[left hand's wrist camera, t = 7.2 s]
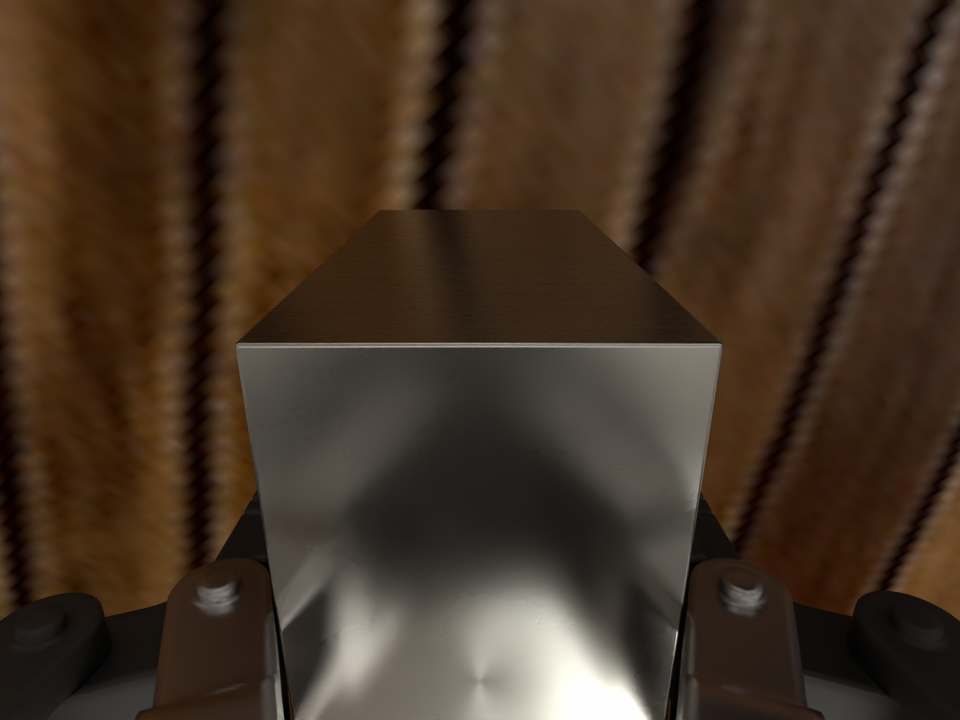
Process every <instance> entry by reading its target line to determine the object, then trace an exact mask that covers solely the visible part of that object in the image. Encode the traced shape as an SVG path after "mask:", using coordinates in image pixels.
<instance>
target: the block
mask: <svg viewBox="0 0 960 720" xmlns="http://www.w3.org/2000/svg"><path fill="white" fill-rule="evenodd" d="M722 347H723V345H722V342H721V341H719V340H718V339H717V338H716V337H715V336H714V335H713V334H712V333H711V332H710V331H709V330H708V329H707V328H705V327H704V326H703V325H702V324H701V323H700V322H699V321H698V320H697V319H696V318H695V317H694V316H693V315H691V314H690V313H689V312H688V311H687V310H686V309H685V308H684V307H683V306H682V305H681V304H680V303H679V302H677V301H676V300H675V299H674V298H673V297H672V296H671V295H670V294H669V293H668V292H667V291H666V290H665V289H664V288H662V287H661V286H660V285H659V284H658V283H657V282H656V281H655V280H654V279H653V278H652V277H651V276H650V275H648V274H647V273H646V272H645V271H644V270H643V269H642V268H641V267H640V266H639V265H638V264H637V263H636V262H634V261H633V260H632V259H631V258H630V257H629V256H628V255H627V254H626V253H625V252H624V251H623V250H622V249H620V248H619V247H618V246H617V245H616V244H615V243H614V242H613V241H612V240H611V239H610V238H609V237H608V236H607V235H605V234H604V233H603V232H602V231H601V230H600V229H599V228H598V227H597V226H596V225H595V224H594V223H593V222H591V221H590V220H589V219H588V218H587V217H586V216H585V215H584V214H583V213H582V212H581V211H580V210H380V211H378V212H377V213H376V214H375V215H374V216H373V217H372V218H371V219H370V220H369V221H367V222H366V223H365V224H364V225H363V226H362V227H361V228H360V229H359V230H358V231H357V232H356V233H355V234H353V235H352V236H351V237H350V238H349V239H348V240H347V241H346V242H345V243H344V244H343V245H342V246H340V247H339V248H338V249H337V250H336V251H335V252H334V253H333V254H332V255H331V256H330V257H329V258H327V259H326V260H325V261H324V262H323V263H322V264H321V265H320V266H319V267H318V268H317V269H316V270H315V271H313V272H312V273H311V274H310V275H309V276H308V277H307V278H306V279H305V280H304V281H303V282H302V283H300V284H299V285H298V286H297V287H296V288H295V289H294V290H293V291H292V292H291V293H290V294H289V295H288V296H286V297H285V298H284V299H283V300H282V301H281V302H280V303H279V304H278V305H277V306H276V307H275V308H273V309H272V310H271V311H270V312H269V313H268V314H267V315H266V316H265V317H264V318H263V319H262V320H260V321H259V322H258V323H257V324H256V325H255V326H254V327H253V328H252V329H251V330H250V331H249V332H248V333H246V334H245V335H244V336H243V337H242V338H241V339H240V340H239V341H238V342H237V343H236V345H235V349H236V355H237V362H238V368H239V374H240V381H241V387H242V394H243V400H244V407H245V413H246V419H247V426H248V432H249V439H250V445H251V452H252V458H253V464H254V471H255V477H256V484H257V490H258V497H259V503H260V509H261V516H262V522H263V529H264V535H265V542H266V548H267V554H268V561H269V567H270V574H271V580H272V587H273V593H274V600H275V606H276V612H277V619H278V625H279V632H280V638H281V645H282V651H283V657H284V664H285V670H286V677H287V683H288V690H289V696H290V702H291V709H292V715H293V720H666V715H667V708H668V701H669V695H670V688H671V682H672V675H673V669H674V662H675V656H676V649H677V642H678V636H679V629H680V623H681V616H682V610H683V603H684V596H685V590H686V583H687V577H688V570H689V564H690V557H691V551H692V544H693V537H694V531H695V524H696V518H697V511H698V505H699V498H700V491H701V485H702V478H703V472H704V465H705V459H706V452H707V446H708V439H709V432H710V426H711V419H712V413H713V406H714V400H715V393H716V386H717V380H718V373H719V367H720V360H721V354H722Z"/></svg>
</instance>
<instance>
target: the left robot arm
mask: <svg viewBox="0 0 960 720" xmlns="http://www.w3.org/2000/svg"><path fill="white" fill-rule="evenodd" d="M244 512H245V513H244V515H242V516H241V518H240V520H239V521H238V523H237V525H236V526H235V528H234V530H233V531H232V533H231V535H230V536H229V538H228V540H227V541H226V543H225V545H224V546H223V548H222V550H221V551H220V553H219V555H218V556H217V558H216V560H215V561H214V562H211V563H208V564H206V565H203V566H201V567H199V568H197V569H195V570H194V571H192V572H190V573H189V574H187V575H186V576H185V577H183V578H182V579H181V580H180V581H179V582H178V583H177V584H176V585H175V587H174V588H173V589H172V591H171V593H170V594H169V597H168V600H167V602H164V603H161V604H158V605H155V606H151V607H148V608H144V609H139V610H135V611H130V612H126V613H122V614H117V615H113V616H109V617H105V615H104V612H103V608H102V605H101V603H100V602H99V601H98V599H97V598H95V597H93V596H91V595H88V594H84V593H64V594H58V595H54V596H49V597H46V598H43V599H40V600H37V601H35V602H32V603H30V604H28V605H26V606H24V607H22V608H20V609H18V610H16V611H15V612H13V613H11V614H10V615H8V616H7V617H5V618H4V619H3V620H1V621H0V720H292V716H291V709H290V702H289V696H288V692H289V690H288V683H287V677H286V670H285V664H284V657H283V651H282V645H281V638H280V632H279V625H278V619H277V612H276V606H275V600H274V593H273V587H272V580H271V574H270V567H269V561H268V554H267V548H266V542H265V535H264V529H263V522H262V516H261V509H260V503H259V497H258V490H257V491H256V493H255V494H254V496H253V500H251V501H250V503H249V504H248V506H247V508H246V510H245V511H244ZM669 698H670V701H671V702H670V709H669V716H668V720H960V621H959V620H958V619H956V618H955V617H953V616H952V615H951V614H949V613H948V612H946V611H945V610H943V609H941V608H939V607H938V606H936V605H934V604H932V603H930V602H928V601H925V600H923V599H920V598H918V597H914V596H911V595H908V594H904V593H899V592H892V591H875V592H870V593H867V594H865V595H863V596H861V597H860V598H859V600H858V601H857V603H856V605H855V609H854V612H853V616H852V617H851V616H847V615H843V614H838V613H834V612H830V611H825V610H821V609H816V608H812V607H808V606H804V605H800V604H797V603H794V602H793V600H792V597H791V594H790V593H789V591H788V589H787V588H786V587H785V585H784V584H783V583H782V582H781V581H780V580H779V579H778V578H777V577H775V576H774V575H773V574H771V573H770V572H768V571H766V570H765V569H763V568H761V567H759V566H757V565H754V564H751V563H749V562H746V561H742V560H740V558H739V556H738V555H737V553H736V551H735V549H734V548H733V546H732V544H731V543H730V541H729V539H728V538H727V536H726V534H725V532H724V531H723V529H722V527H721V526H720V524H719V522H718V521H717V519H716V517H715V515H714V514H712V510H711V509H710V507H709V505H708V504H707V502H706V500H703V495H702V493H701V492H700V498H699V505H698V511H697V518H696V524H695V531H694V537H693V544H692V551H691V557H690V564H689V570H688V577H687V583H686V590H685V596H684V603H683V610H682V616H681V623H680V629H679V636H678V642H677V649H676V656H675V662H674V669H673V675H672V682H671V688H670V695H669Z"/></svg>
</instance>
